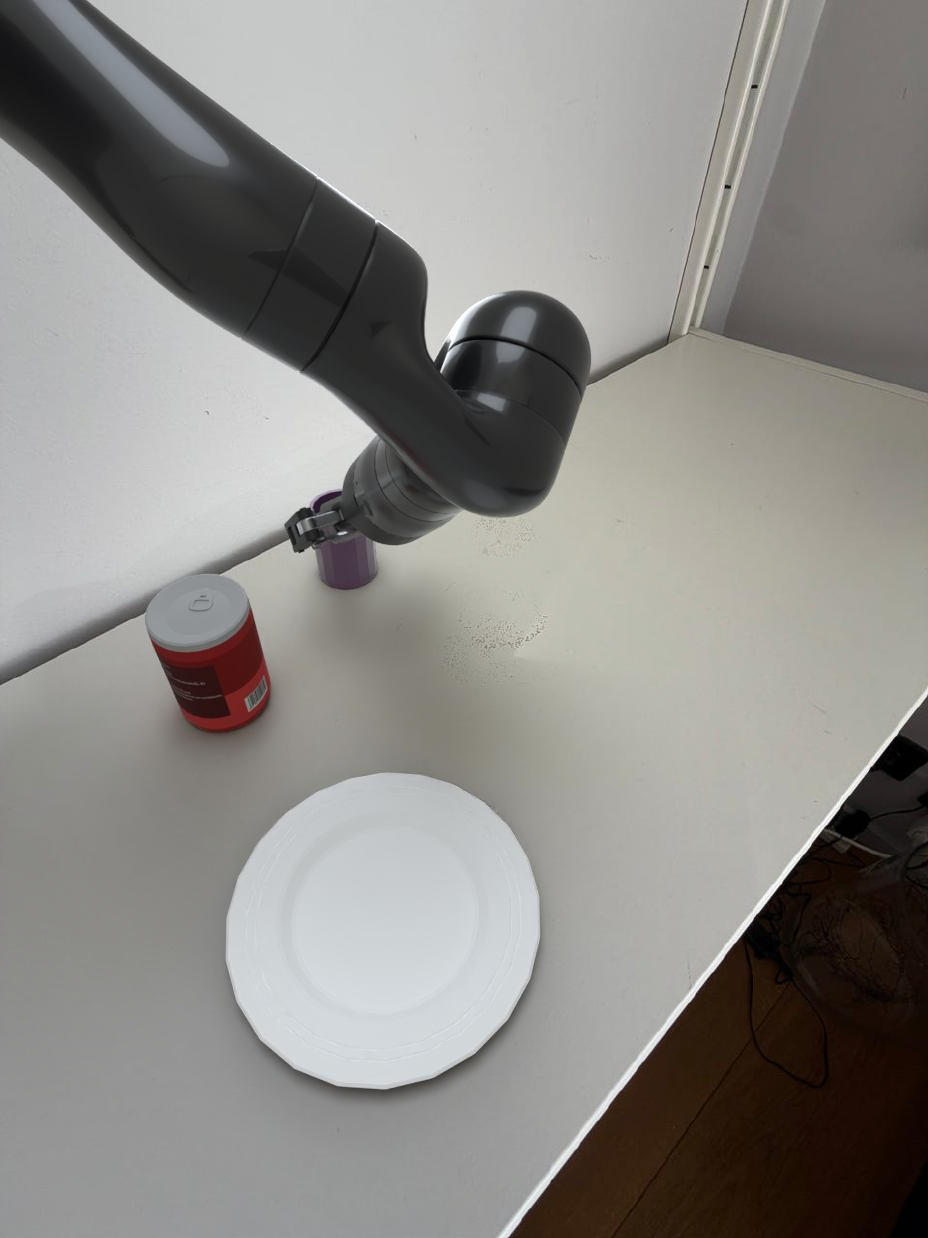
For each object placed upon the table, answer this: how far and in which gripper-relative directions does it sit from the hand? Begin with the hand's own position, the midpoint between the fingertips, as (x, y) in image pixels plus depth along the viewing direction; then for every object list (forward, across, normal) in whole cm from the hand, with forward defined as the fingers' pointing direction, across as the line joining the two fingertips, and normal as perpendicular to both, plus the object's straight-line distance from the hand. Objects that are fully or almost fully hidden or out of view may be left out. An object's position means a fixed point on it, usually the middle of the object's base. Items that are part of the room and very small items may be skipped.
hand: (356, 524), depth 65 cm
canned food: (+2, +16, +11) cm, 19 cm away
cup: (+9, 0, +3) cm, 10 cm away
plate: (-15, +12, +28) cm, 34 cm away
